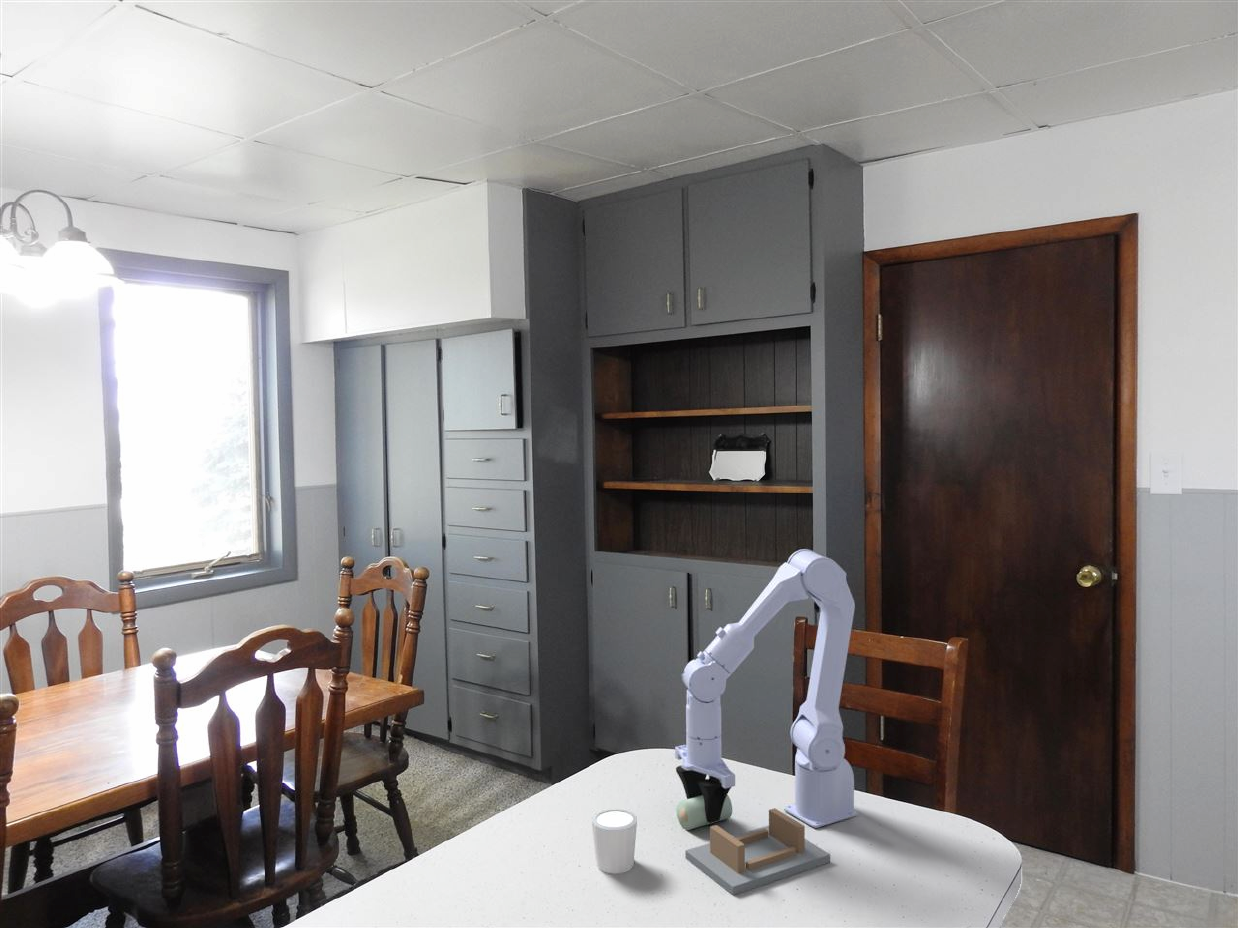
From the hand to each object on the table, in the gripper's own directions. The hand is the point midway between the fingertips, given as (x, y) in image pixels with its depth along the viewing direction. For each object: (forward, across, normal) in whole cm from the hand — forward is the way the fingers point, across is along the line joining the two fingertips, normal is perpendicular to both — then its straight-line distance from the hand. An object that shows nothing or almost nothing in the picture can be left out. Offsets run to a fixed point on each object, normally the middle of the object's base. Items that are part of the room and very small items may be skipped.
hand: (704, 814), depth 146 cm
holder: (+1, +14, 0) cm, 14 cm away
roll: (+1, 0, 0) cm, 1 cm away
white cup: (+2, +4, -19) cm, 19 cm away
